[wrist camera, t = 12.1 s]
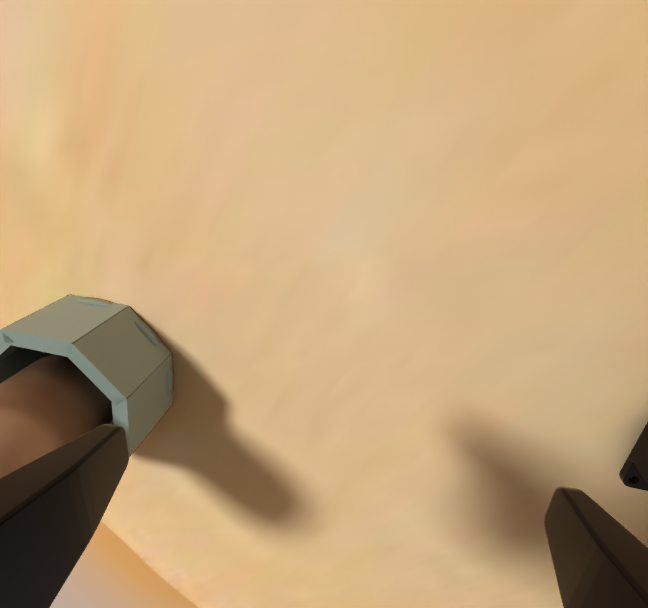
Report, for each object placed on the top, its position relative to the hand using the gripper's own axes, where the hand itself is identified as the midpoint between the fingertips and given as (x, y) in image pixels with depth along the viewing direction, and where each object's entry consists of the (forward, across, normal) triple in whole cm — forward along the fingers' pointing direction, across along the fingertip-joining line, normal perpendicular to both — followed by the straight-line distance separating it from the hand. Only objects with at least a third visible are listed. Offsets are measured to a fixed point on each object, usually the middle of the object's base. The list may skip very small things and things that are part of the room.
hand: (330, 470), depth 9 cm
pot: (+13, +14, +8) cm, 21 cm away
